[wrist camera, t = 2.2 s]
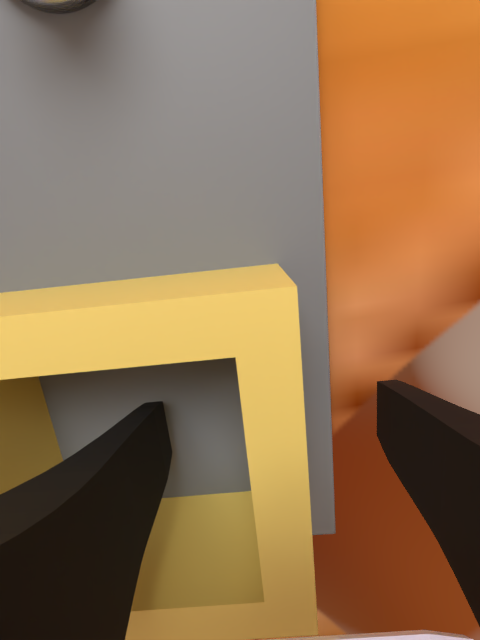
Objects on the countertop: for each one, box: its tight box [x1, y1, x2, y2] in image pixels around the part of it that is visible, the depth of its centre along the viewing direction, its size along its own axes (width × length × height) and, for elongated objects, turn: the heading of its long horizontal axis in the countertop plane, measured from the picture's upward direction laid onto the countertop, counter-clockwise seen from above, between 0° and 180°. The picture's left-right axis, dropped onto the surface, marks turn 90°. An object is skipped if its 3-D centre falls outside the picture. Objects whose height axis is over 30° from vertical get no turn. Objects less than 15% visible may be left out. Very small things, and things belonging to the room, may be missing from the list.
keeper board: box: [0, 0, 336, 535], centre depth 11 cm, size 13×26×1 cm, turn 6°
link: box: [0, 263, 318, 640], centre depth 10 cm, size 10×10×4 cm
